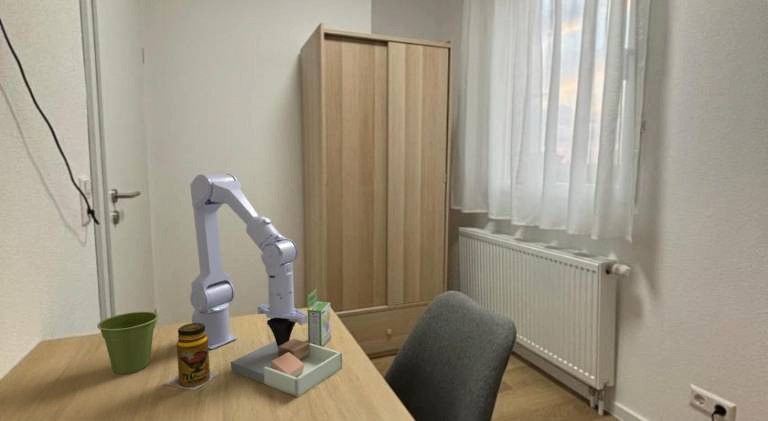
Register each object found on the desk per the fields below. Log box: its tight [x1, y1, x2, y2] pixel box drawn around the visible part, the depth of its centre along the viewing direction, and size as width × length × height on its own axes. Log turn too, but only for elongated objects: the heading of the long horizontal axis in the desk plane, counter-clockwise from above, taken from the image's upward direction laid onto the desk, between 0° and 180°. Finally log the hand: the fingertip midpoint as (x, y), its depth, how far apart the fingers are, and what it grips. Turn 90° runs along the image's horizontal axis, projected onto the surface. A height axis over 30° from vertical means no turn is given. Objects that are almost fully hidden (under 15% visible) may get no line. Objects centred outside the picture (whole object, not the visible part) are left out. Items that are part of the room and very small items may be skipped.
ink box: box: [306, 288, 332, 347], centre depth 107 cm, size 7×4×13 cm, turn 168°
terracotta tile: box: [270, 352, 305, 377], centre depth 89 cm, size 5×5×2 cm
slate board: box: [230, 340, 309, 384], centre depth 96 cm, size 11×14×2 cm
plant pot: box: [96, 311, 159, 375], centre depth 95 cm, size 12×12×11 cm
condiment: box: [163, 322, 220, 391], centre depth 89 cm, size 7×8×12 cm
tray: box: [263, 343, 343, 398], centre depth 90 cm, size 10×14×4 cm
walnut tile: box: [278, 338, 310, 359], centre depth 96 cm, size 5×5×2 cm
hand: (283, 347), depth 98 cm, fingers closed
